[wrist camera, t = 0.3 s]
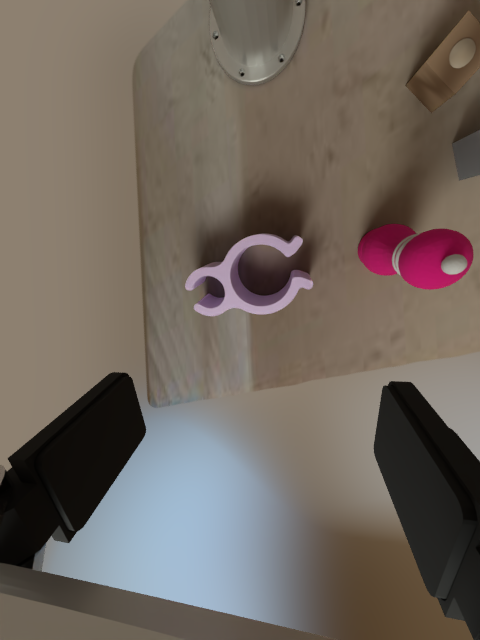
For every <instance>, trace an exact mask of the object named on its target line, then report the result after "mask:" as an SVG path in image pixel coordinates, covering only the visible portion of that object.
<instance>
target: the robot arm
mask: <svg viewBox="0 0 480 640" xmlns="http://www.w3.org/2000/svg"><path fill="white" fill-rule="evenodd" d="M209 1H210V4H211V7H210V15H209V31H210V39H211V43H212V47H213V50H214V53H215V56H216V58H217V60H218V62H219V64H220V66H221V67H222V69H223V70H224V71H225V73H226V74H228V75H229V76H230V77H231V78H232V79H234V80H235V81H237V82H239V83H242V84H246V85H258V84H262V83H265V82H267V81H269V80H271V79H273V78H274V77H276V76H277V75H278V74H280V73H281V72H282V70H283V69H284V68H285V67H286V66H287V65H288V63H289V62H290V60H291V59H292V57H293V56H294V54H295V52H296V50H297V48H298V45H299V42H300V39H301V36H302V32H303V27H304V21H305V0H209ZM298 5H300V6H298ZM217 38H218V39H217ZM281 60H283V62H280V61H281ZM242 74H244V76H243V77H241V75H242ZM145 433H146V426H145V423H144V420H143V416H142V412H141V409H140V405H139V402H138V398H137V394H136V391H135V387H134V384H133V380H132V378H131V377H129V375H128V374H127V373H115V372H114V373H110V374H109V375H107V376H106V377H105V378H104V379H103V380H101V381H100V382H99V383H98V384H97V385H95V386H94V387H93V388H92V389H91V390H90V391H88V392H87V393H86V394H85V395H84V396H82V397H81V398H80V399H79V400H77V401H76V402H75V403H74V404H73V405H71V406H70V407H69V408H68V409H67V410H65V411H64V412H63V413H62V414H61V415H59V416H58V417H57V418H56V419H55V420H53V421H52V422H51V423H50V424H49V425H47V426H46V427H45V428H44V429H43V430H41V431H40V432H39V433H38V434H37V435H36V436H34V437H33V438H32V439H31V440H29V441H28V442H27V443H26V444H25V445H23V446H22V447H21V448H20V449H19V450H17V451H16V452H15V453H14V454H13V455H12V456H10V457H9V458H8V460H9V462H10V463H11V465H12V468H11V469H10V470H8V471H6V470H5V468H4V467H3V466H2V465H0V640H337V639H333V638H329V637H325V636H320V635H316V634H312V633H308V632H303V631H299V630H295V629H290V628H286V627H282V626H278V625H273V624H269V623H265V622H261V621H257V620H252V619H248V618H244V617H239V616H235V615H231V614H227V613H222V612H217V611H213V610H209V609H205V608H200V607H196V606H192V605H187V604H183V603H178V602H174V601H170V600H165V599H161V598H157V597H153V596H148V595H144V594H140V593H135V592H130V591H126V590H122V589H118V588H113V587H109V586H104V585H99V584H96V583H91V582H86V581H82V580H78V579H73V578H68V577H64V576H59V575H55V574H50V573H46V572H42V565H43V559H44V553H45V546H46V542H47V541H48V539H49V538H50V537H51V535H52V537H53V539H54V540H56V541H61V542H66V543H69V542H70V541H71V540H72V538H73V537H74V535H75V534H76V532H77V531H79V530H80V529H81V528H83V527H84V525H85V524H86V522H87V521H88V519H89V518H90V516H91V515H92V513H93V512H94V510H95V509H96V507H97V506H98V504H99V503H100V501H101V500H102V499H103V497H104V496H105V494H106V493H107V491H108V490H109V488H110V487H111V485H112V484H113V482H114V481H115V479H116V478H117V476H118V475H119V473H120V472H121V470H122V469H123V468H124V466H125V465H126V463H127V461H128V460H129V458H130V457H131V456H132V454H133V453H134V451H135V450H136V448H137V447H138V445H139V444H140V442H141V441H142V439H143V438H144V436H145ZM374 454H375V457H376V460H377V463H378V466H379V468H380V471H381V473H382V476H383V478H384V481H385V484H386V486H387V489H388V491H389V494H390V496H391V499H392V501H393V504H394V507H395V509H396V511H397V514H398V517H399V519H400V522H401V524H402V527H403V530H404V532H405V535H406V537H407V540H408V542H409V545H410V548H411V550H412V553H413V555H414V558H415V560H416V563H417V565H418V568H419V570H420V573H421V576H422V578H423V581H424V583H425V586H426V588H427V590H428V592H429V593H430V595H431V596H433V597H437V598H438V600H439V603H440V605H441V608H442V610H443V613H444V615H445V617H448V618H454V619H458V620H463V621H465V622H466V624H467V626H468V628H469V630H470V632H471V634H472V637H473V639H474V640H480V461H479V460H478V459H477V458H476V457H475V455H474V454H473V453H472V452H471V451H470V449H469V448H468V447H467V446H466V445H465V443H464V442H463V441H462V440H461V439H460V438H459V436H458V435H457V434H456V433H455V432H454V431H453V430H452V429H450V428H448V426H447V425H446V424H445V423H444V421H443V420H442V419H441V418H440V417H439V415H438V414H437V413H436V412H435V410H434V409H433V408H432V407H431V405H430V404H429V403H428V402H427V401H426V399H425V398H424V397H423V396H422V394H421V393H420V392H419V391H418V389H417V388H416V387H415V386H414V385H413V384H412V383H411V382H395V381H391V382H390V383H389V384H388V386H383V389H382V395H381V402H380V409H379V415H378V422H377V428H376V435H375V442H374Z"/></svg>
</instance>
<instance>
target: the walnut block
mask: <svg viewBox="0 0 480 640" xmlns="http://www.w3.org/2000/svg"><path fill="white" fill-rule="evenodd" d="M479 68H480V22H479V21H478V20H477V19H476V18H475V17H474V15H473V14H472V13H471V12H470V11H468V12H467V13H466V14H465V15H464V17H463V18H462V19H461V20H460V21H459V22H458V24H457V25H456V26H455V27H454V28H453V30H452V31H451V32H450V33H449V34H448V36H447V37H446V38H445V39H444V40H443V41H442V43H441V44H440V45H439V46H438V47H437V49H436V50H435V51H434V52H433V53H432V55H431V56H430V57H429V58H428V59H427V61H426V62H425V63H424V64H423V65H422V67H421V68H420V69H419V70H418V71H417V73H416V74H415V75H414V76H413V77H412V79H411V80H410V81H409V82H408V83H407V85H406V87H407V88H408V89H409V90H410V91H411V92H412V93H413V94H414V95H415V96H416V97H417V98H418V99H419V100H420V101H421V102H422V103H423V105H424V106H425V107H426V108H427V109H428V110H429V111H430V112H431V113H432V112H433V111H434V110H436V109H437V108H438V107H439V106H441V105H442V104H443V103H445V102H446V101H447V100H448V99H450V98H451V97H452V96H453V95H455V94H456V93H457V92H458V90H459V89H460V88H461V87H462V86H463V85H464V84H465V83H466V82H467V81H468V80H469V79H470V77H471V76H472V75H473V74H474V73H475V72H476V71H477V70H478V69H479Z"/></svg>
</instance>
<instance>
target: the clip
mask: <svg viewBox="0 0 480 640" xmlns="http://www.w3.org/2000/svg"><path fill="white" fill-rule="evenodd" d="M302 243H303V240H302V238H300V237H299V236H297V235H294V236H293V237H292V239H291V240H290V241H286V240H285V239H283V238H281V237H279V236H277V235H274V234H268V233H263V234H257V235H252V236H249V237H246V238H244V239H242V240H240V241H239V242H238V243H236V244H235V245H234V246H233V247H232V248H231V249H230V251H229V252H228V254H227V255H226V257H225V259H224V261H223V262H212V263H210V264H208V265H206V266H203V267H201V268H199V269H197V270H195V271H194V272H193V273H192V274H191V275H190V276H189V277H188V279H187V281H186V285H185V288H186V289H187V290H193V289H194V288H196V287H197V286H199V285H200V284H202V283H203V282H205V280H206V277H207V276H212V277H214V278H216V279H218V280H219V281H220V282H221V283H222V285H223V287H224V290H225V297H223V298H218V297H215V296H213V295H211V294H207V295H206V296H205V297H203V298H202V299H201V300H200V301H199V302H198V303H196V304H195V305H194V309H195V310H196V311H197V312H199V313H201V314H203V315H207V316H216V315H220V314H222V313H223V312H225V311H226V310H228V309H230V308H240V309H242V310H244V311H247V312H250V313H253V314H270V313H274V312H277V311H279V310H281V309H283V308H284V307H285V306H287V305H288V304H289V303H290V302H291V301H292V300H293V299H294V297H295V296H296V294H297V292H298V290H299V288H306V289H311V288H312V286H313V282H312V280H311V278H310V276H309V274H308V273H306V272H303V271H301V270H292V271H291V275H290V278H289V280H288V282H287V284H286V285H285V286H284V287H283V288H282V289H281V290H280V291H279V292H277V293H275V294H272V295H267V296H262V295H257V294H254V293H252V292H250V291H249V290H247V289H246V288H245V287H244V285H243V284H242V282H241V281H240V278H239V275H238V263H239V260H240V257H241V255H242V254H243V252H244V251H245V250H246V249H247V248H248V247H250V246H253V245H258V244H264V245H269V246H272V247H275V248H277V249H278V250H280V251H281V252H282V253H283V254H284V255H285V256H286V257H290V256H291V255H293V254H294V253H296V251H297V250H298V249H299V247H300V246H301V245H302Z"/></svg>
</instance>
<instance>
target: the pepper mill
mask: <svg viewBox="0 0 480 640" xmlns="http://www.w3.org/2000/svg"><path fill="white" fill-rule="evenodd" d="M358 256H359V258H360V260H361V261H362V263H364V265H365V266H366V268H368V269H369V270H370V271H371V272H373V273H376V274H379V275H394V274H397V273H398V274H399V275H401V276H402V277H403V279H404V280H405V281H406V282H408V283H409V284H410V285H412V286H414V287H417V288H422V289H439V288H443V287H446V286H449V285H451V284H453V283H455V282H456V281H458V280H459V279H461V278H462V277H463V276H464V275H465V274H466V272H467V271H468V270H469V268H470V266H471V264H472V261H473V248H472V245H471V243H470V241H469V240H468V239H467V238H466V237H465V236H464V235H463V234H461V233H459V232H457V231H453V230H449V229H433V230H429V231H426V232H423V233H418V234H416V233H415V231H413V230H412V229H411V228H409V227H407V226H405V225H400V224H387V225H384V226H381V227H379V228H376V229H373V230H371V231H370V232H368V233H367V234H366V235H365V236H364V237H363V238H362V239H361V241H360V243H359V246H358Z"/></svg>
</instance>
